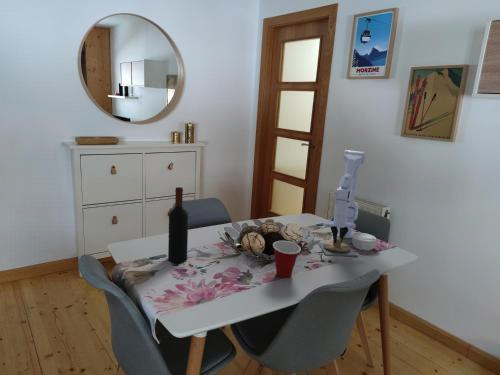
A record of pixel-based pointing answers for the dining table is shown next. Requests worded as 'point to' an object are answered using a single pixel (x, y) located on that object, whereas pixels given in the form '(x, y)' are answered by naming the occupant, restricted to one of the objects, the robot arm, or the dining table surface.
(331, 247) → the lid
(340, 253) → the mat
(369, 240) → the ramekin
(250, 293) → the dining table surface
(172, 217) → the wine bottle
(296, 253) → the plastic cup
